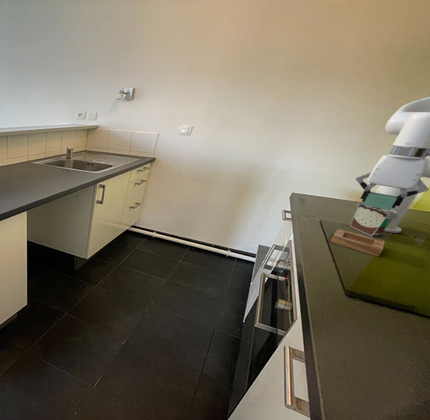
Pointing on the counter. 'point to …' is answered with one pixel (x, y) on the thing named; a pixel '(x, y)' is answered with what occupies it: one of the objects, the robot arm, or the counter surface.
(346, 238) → the recessed wooden tray
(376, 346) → the counter surface
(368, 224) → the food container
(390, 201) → the green pad
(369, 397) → the counter surface
